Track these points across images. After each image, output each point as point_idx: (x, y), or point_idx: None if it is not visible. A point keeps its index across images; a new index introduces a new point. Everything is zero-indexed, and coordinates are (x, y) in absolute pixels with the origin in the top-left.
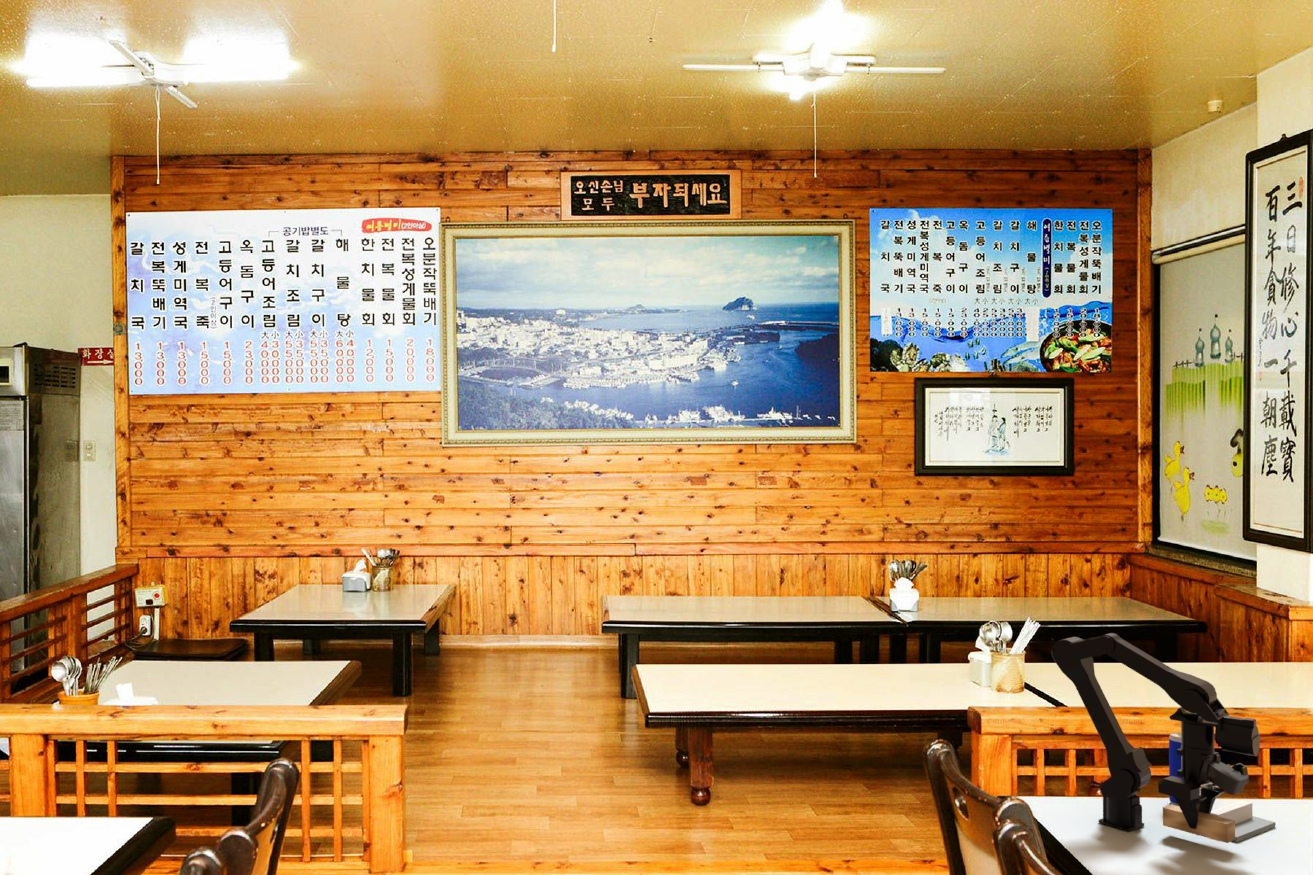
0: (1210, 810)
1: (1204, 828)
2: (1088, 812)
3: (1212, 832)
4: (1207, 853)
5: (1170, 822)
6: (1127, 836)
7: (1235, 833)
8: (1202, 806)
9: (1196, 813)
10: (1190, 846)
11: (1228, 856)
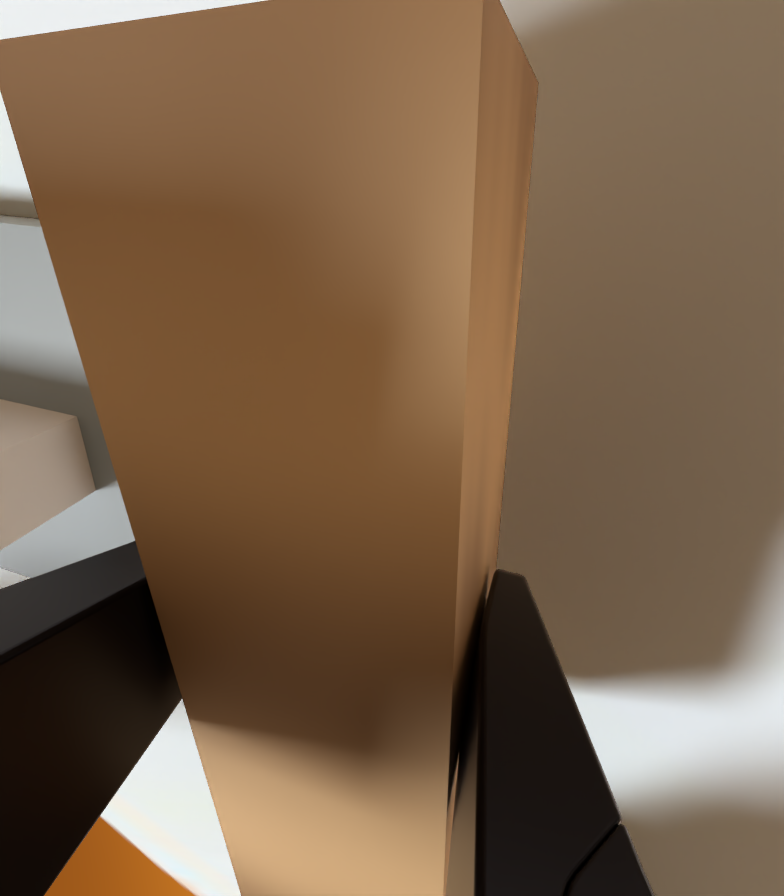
0: (56, 588)
1: (491, 485)
2: None
3: (501, 358)
4: (716, 297)
5: None
6: (722, 864)
7: (12, 283)
8: (82, 722)
9: (588, 812)
10: (592, 491)
11: (638, 52)
